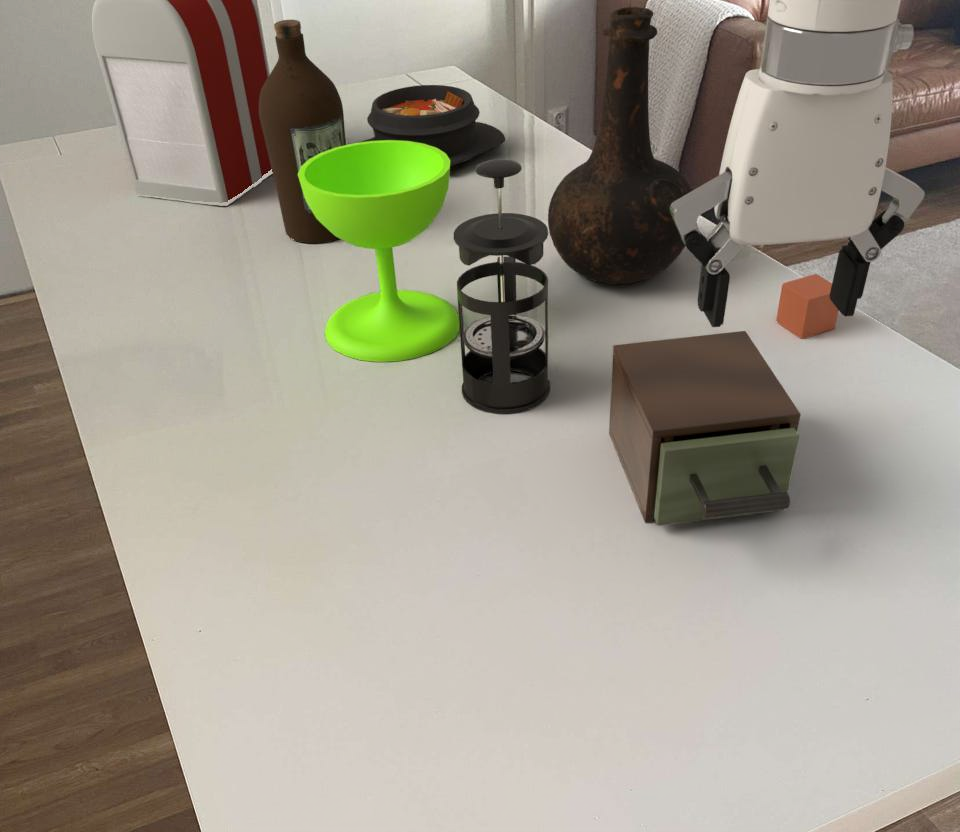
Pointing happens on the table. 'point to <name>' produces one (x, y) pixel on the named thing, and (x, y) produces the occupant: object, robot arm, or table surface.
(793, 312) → the block
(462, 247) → the french press
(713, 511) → the drawer
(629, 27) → the glass bottle
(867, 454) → the table surface
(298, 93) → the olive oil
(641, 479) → the cabinet
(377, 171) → the wineglass
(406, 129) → the casserole
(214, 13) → the tissue box
